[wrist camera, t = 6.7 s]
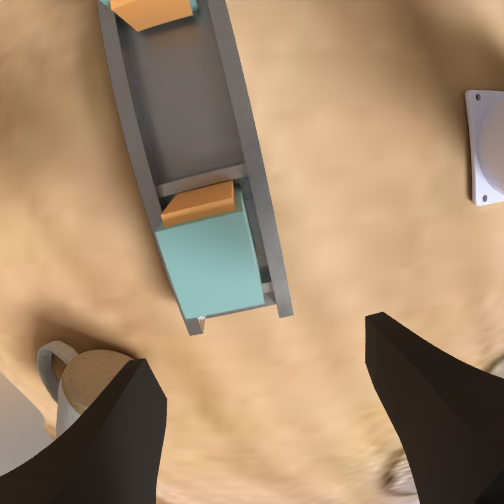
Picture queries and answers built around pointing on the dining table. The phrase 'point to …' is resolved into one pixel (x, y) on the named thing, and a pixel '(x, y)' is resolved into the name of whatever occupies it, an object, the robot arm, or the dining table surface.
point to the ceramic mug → (77, 378)
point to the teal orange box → (151, 11)
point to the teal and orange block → (210, 250)
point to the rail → (193, 127)
